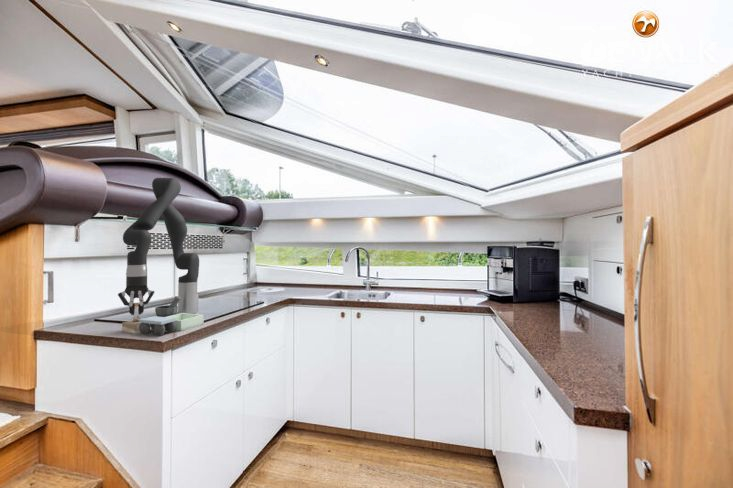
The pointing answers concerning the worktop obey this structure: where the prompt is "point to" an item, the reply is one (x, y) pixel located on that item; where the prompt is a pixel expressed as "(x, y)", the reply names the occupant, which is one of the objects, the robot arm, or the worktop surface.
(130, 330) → the stop block
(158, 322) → the trolley
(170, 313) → the mortar and pestle
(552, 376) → the worktop surface
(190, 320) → the tray
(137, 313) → the stop pin
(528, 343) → the worktop surface
